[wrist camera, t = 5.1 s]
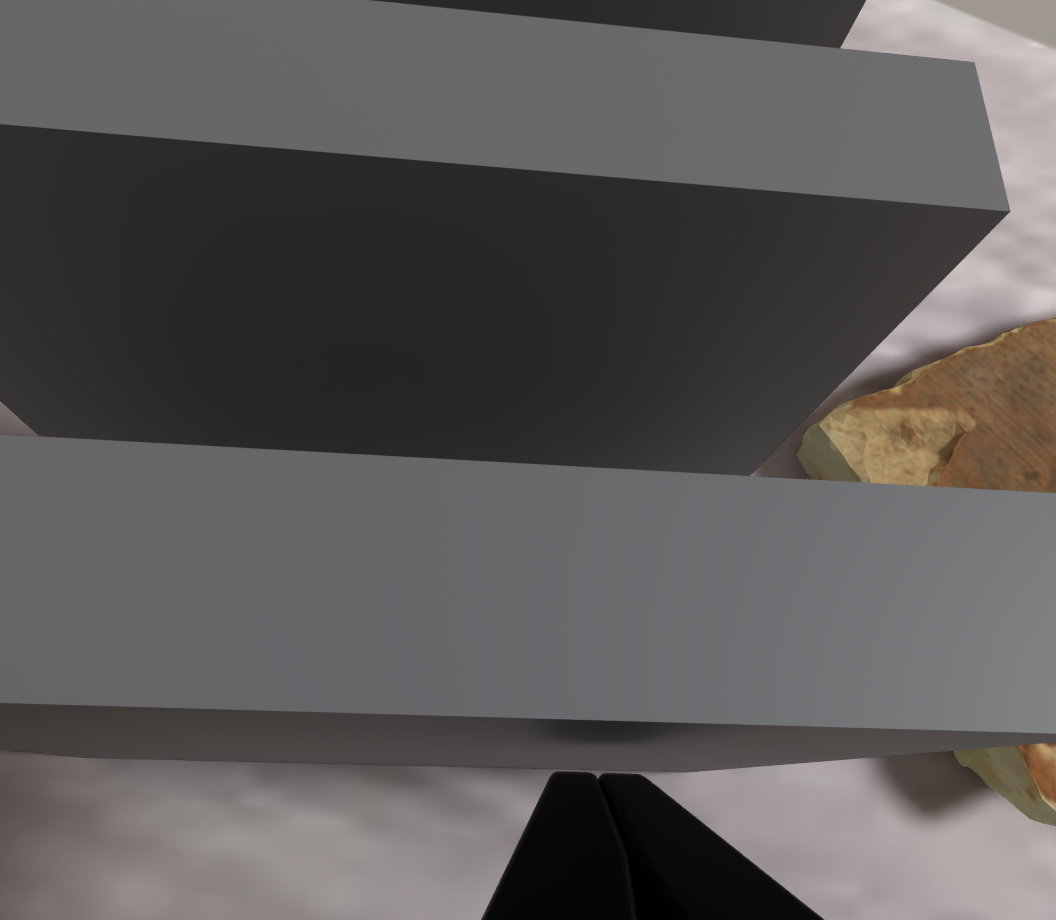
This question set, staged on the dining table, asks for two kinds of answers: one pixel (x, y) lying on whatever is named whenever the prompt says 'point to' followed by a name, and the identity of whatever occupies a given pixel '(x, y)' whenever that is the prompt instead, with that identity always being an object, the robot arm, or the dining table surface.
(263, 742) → the domino
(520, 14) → the domino
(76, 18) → the domino
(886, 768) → the dining table surface
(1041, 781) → the shard
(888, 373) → the dining table surface
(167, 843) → the dining table surface
